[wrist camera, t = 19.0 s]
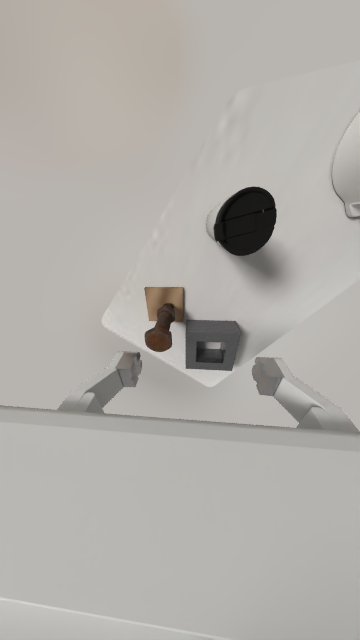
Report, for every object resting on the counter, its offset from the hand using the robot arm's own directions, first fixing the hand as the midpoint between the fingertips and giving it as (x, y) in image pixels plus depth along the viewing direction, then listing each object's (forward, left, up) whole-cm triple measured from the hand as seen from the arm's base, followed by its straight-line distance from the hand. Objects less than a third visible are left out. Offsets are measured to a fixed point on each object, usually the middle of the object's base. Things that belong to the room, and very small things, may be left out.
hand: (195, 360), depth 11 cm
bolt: (+7, +11, -30) cm, 33 cm away
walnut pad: (+8, +11, -31) cm, 34 cm away
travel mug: (-5, -8, -31) cm, 33 cm away
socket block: (-5, +23, -31) cm, 39 cm away
